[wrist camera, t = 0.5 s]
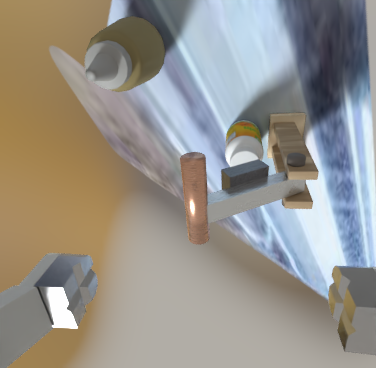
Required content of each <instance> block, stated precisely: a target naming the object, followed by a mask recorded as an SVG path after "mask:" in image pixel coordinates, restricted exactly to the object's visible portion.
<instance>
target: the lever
mask: <svg viewBox="0 0 376 368" xmlns="http://www.w3.org/2000/svg"><path fill="white" fill-rule="evenodd" d="M180 162H181V172H182V181H183V191H184V200H185V208H186V209H185V210H186V219H187V229H188V238H189V241H190V242H192V243H193V244H204V243H206V242H207V241H208V240H209V238H210V234H209V223H211V222H214V221H217V220H220V219H223V218H226V217H229V216H232V215H235V214H238V213H241V212H244V211H247V210H250V209H253V208H256V207H259V206H262V205H265V204H268V203H271V202H274V201H277V200H280V199H283V198H286V197H289V196H292V195H294V194H297V193H300V192H303V191H304V189H305V182H306V180H288V176H287V173H286V171H283V172H279V173H276V174H273V175H269V176H268V170H269V166H268V165H267V164H265V163H264V162H262V161H261V160H259V159H257V160H254V161H250V162H247V163H243V164H240V165H236V166H232V167H229V168H225V169H222V170H221V174H222V190H220V191H217V192H214V193H210V194H207V177H206V158H205V155H204V154H202V153H198V152H191V153H186V154H184V155H182V156H181V158H180Z"/></svg>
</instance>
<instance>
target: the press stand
mask: <svg viewBox="0 0 376 368" xmlns="http://www.w3.org/2000/svg"><path fill="white" fill-rule="evenodd" d="M305 119H306V114H305V113H277V114H270V122H269V136H268V150H267V156H268V158H273V161H274V165H275V169H276V173H279V172H283V171H286V173H287V176H288V180H317V177H318V169H317V167H316V165H315V163H314V161H313V159H312V157H311V155H310V153H309V151H308V149H307V147H306V145H305V143H304V141H303V133H304V126H305ZM282 205H283V206H284V207H285V208H289V209H312V205H313V201H312V198H311V195H310V193H309V190H308V188H307V185H306V182H305V189H304V191H303V192H300V193H297V194H294V195H292V196H289V197H286V198H283V199H282Z"/></svg>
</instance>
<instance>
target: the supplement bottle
mask: <svg viewBox="0 0 376 368" xmlns="http://www.w3.org/2000/svg"><path fill="white" fill-rule="evenodd" d="M225 156H226V160H227V162H228V164H229V165H230V167H232V166H236V165H240V164H243V163H247V162H250V161H254V160H257V159H259V160H261V161H262V159H263V146H262V141H261V135H260V131H259V129H258V127H257V126H256V125H255V124H254V123H252V122H250V121H246V120H242V121H238V122H236V123H234V124H233V125H231V127H230V128H229V129H228V131H227V135H226V149H225Z"/></svg>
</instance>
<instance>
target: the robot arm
mask: <svg viewBox="0 0 376 368" xmlns="http://www.w3.org/2000/svg"><path fill="white" fill-rule="evenodd" d="M92 265H93V262H92V259H91V257H90V256H88V255H76V254H58V253H49V254H46V255H45V256H44V257H43V258H42V260H41V261H40V262H39V263H38V264H37V265H36V267H34V269H33V270H32V271H31V272H30V273H29V274H28V275H27V277H26V278H25V279H24V280H23V281H22V282H21V284H20V285H19V286H13V287H11V288H9V289H7V290H5V291H3V292H2V293H0V368H7V367H8V366H9V365H10V364H11V363H13V362H14V361H15V360H16V359H17V358H19V357H20V356H21V355H22V354H23V353H24V352H26V351H27V350H28V349H29V348H30V347H32V346H33V345H34V344H35V343H36V342H38V341H39V340H40V339H41V338H42V337H43V336H45V335H46V334H47V333H48V332H49V331H51V330H52V329H53V327H67V328H77V327H78V325H79V323H80V321H81V319H82V318H83V316H84V314H85V312H86V308H85V305H86V304H88V303H89V302H91V301H92V300H93V298H94V296H95V294H96V289H97V276H96V273H95V272H94V271H92V269H90V268H91V266H92ZM332 277H333V280H334V283H333V284H332V285H331V286H330V287H329V294H328V296H329V307H330V311H331V314H332V317H333V318H334V319H335V320H336V321H337V322H338V323H339V324H338V329H337V331H338V334H339V337H340V340H341V343H342V346H343V349H344V351H345V352H353V353H361V354H370V355H376V267H354V266H335V267H334V268H333V272H332Z"/></svg>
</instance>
